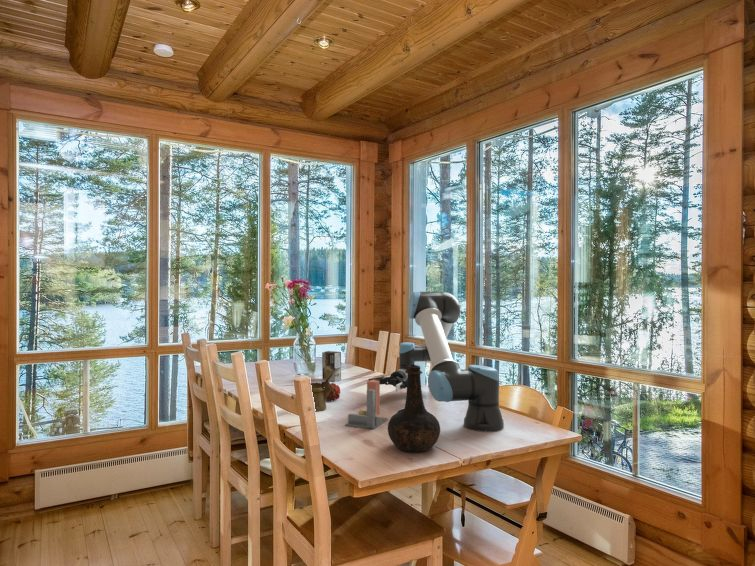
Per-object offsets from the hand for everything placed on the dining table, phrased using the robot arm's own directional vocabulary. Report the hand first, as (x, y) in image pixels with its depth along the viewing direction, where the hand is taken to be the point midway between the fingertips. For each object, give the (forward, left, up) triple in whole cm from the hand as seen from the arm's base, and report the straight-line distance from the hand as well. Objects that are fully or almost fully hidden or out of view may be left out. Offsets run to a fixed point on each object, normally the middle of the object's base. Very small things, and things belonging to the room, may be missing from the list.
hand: (382, 387), depth 229 cm
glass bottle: (-51, +19, -10) cm, 55 cm away
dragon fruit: (+28, +11, -10) cm, 32 cm away
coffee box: (+70, -10, -10) cm, 72 cm away
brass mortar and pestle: (+14, +23, -10) cm, 29 cm away
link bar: (-6, +8, -10) cm, 14 cm away
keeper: (-16, +17, -10) cm, 25 cm away
